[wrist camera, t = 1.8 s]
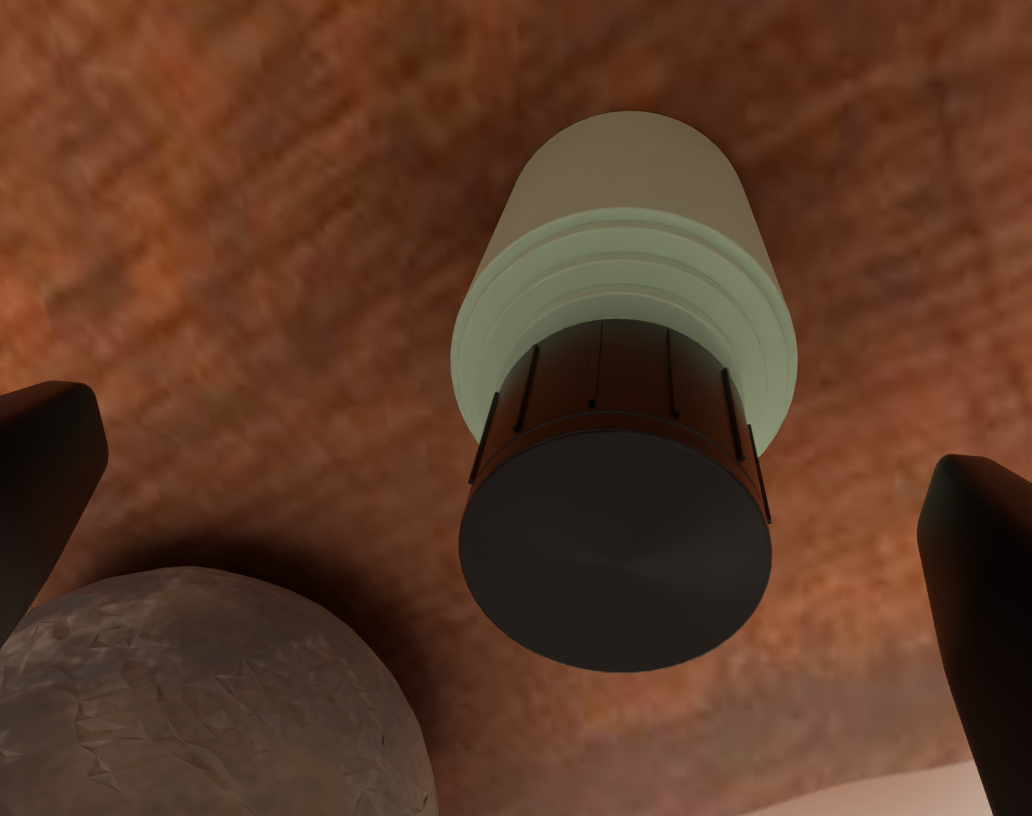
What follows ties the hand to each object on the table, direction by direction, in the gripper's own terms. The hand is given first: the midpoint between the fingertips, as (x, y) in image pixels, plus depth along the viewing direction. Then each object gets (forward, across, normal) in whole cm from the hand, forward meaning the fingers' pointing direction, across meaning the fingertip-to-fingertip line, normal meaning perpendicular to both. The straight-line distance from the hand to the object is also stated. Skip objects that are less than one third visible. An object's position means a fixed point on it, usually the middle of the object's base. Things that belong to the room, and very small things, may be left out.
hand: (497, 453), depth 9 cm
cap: (+4, -1, +2) cm, 5 cm away
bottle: (+13, -1, +2) cm, 14 cm away
